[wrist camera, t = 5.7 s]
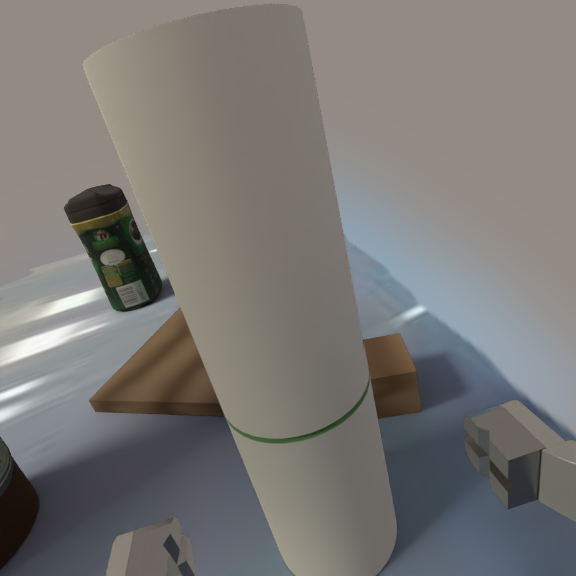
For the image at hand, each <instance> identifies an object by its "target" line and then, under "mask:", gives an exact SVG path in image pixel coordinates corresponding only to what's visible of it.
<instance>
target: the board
mask: <svg viewBox="0 0 576 576" xmlns="http://www.w3.org/2000/svg"><path fill="white" fill-rule="evenodd" d="M89 402H90V403H91V405H92V407H93V408H94V410H95V412H118V413H146V414H173V415H201V416H225V415H224V413H223V410H222V408H221V405H220V403H219V401H218V398H217V396H216V393H215V391H214V388H213V386H212V383H211V381H210V378H209V376H208V374H207V371H206V369H205V366H204V364H203V361H202V359H201V356H200V354H199V351H198V349H197V347H196V344H195V342H194V339H193V337H192V334H191V332H190V329H189V327H188V325H187V322H186V320H185V317H184V315H183V312H182V310H181V307H180V308H179V309H178V310H177V311H176V312H175V313H174V314H173V315H172V316H171V317H170V318H169V319H168V320H167V321H166V322H165V323H164V324H163V325H162V326H161V327H160V328H159V330H158V331H157V332H156V333H155V334H154V335H153V336H152V337H151V338H150V339H149V340H148V341H147V342H146V343H145V344H144V345H143V346H142V347H141V348H140V349H139V350H138V351H137V352H136V353H135V354H134V355H133V356H132V357H131V358H130V359H129V360H128V361H127V362H126V363H125V364H124V365H123V366H122V367H121V368H120V369H119V370H118V371H117V372H116V373H115V374H114V375H113V376H112V377H111V378H110V379H109V380H108V381H107V382H106V383H105V384H104V385H103V386H102V387H101V388H100V389H99V390H98V391H97V392H96V394H95V395H94V396H93V397H92V398H91V399H90V400H89Z"/></svg>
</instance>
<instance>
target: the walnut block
mask: <svg viewBox="0 0 576 576" xmlns="http://www.w3.org/2000/svg"><path fill="white" fill-rule="evenodd" d="M363 342H364V347H365V352H366V358H367V363H368V369H369V374H370V379H371V385H372V390H373V396H374V401H375V407H376V412H377V418H378V419H379V418H385V417H391V416H398V415H404V414H410V413H416V412H422V411H421V402H420V394H419V386H418V377H417V371H416V368H415V366H414V364H413V361H412V359H411V357H410V355H409V352H408V350H407V348H406V346H405V343H404V341H403V339H402V337H401V334H400V333H398V334H393V335H387V336H382V337H377V338H371V339H366V340H363Z"/></svg>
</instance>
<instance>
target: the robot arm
mask: <svg viewBox="0 0 576 576" xmlns="http://www.w3.org/2000/svg"><path fill="white" fill-rule="evenodd" d="M463 427H464V429H465V430H466V431H467V432H468V433H467V435H466V437H465V438H464V444H465V450H466V452H467V455H468V457H469V459H470V461H471V463H472V464H473V466H474V467H475V468H476V470H477V471H478V472H479V473H480V474H482V475H484V476H486V477H488V478H490V488H491V489H492V490H493V491H494V493H495V494H496V495H497V496H498V498H499V499H500V500H501V502H502V503H503V504H504V505H505V507H506V508H507V509H511V508H514V507H517V506H520V505H523V504H526V503H529V502H532V501H535V500H538V499H539V502H541V503H543V504H544V505H546V506H548V507H550V508H551V509H553V510H555V511H557V512H558V513H560V514H562V515H564V516H565V517H567V518H569V519H571V520H572V521H574V522H576V441H573V440H568V441H565V440H564V439H562V438H561V437H560V436H559V435H558V434H557V433H556V432H554V431H553V430H552V429H551V428H550V427H549V426H547V425H546V424H545V423H544V422H543V421H542V420H541V419H539V418H538V417H537V416H536V415H535V414H534V413H532V412H531V411H530V410H529V409H528V408H527V407H525V406H524V405H523V404H522V403H521V402H520V401H517V400H512V401H509V402H506V403H503V404H500V405H498V406H494V407H491V408H488V409H485V410H482V411H480V412H477V413H474V414H471V415H469V416H466V417H465V418H464V420H463ZM106 576H195V560H194V553H193V548H192V545H191V542H190V540H189V538H188V536H187V535H184V534H182V533H181V524H180V522H179V520H178V519H177V517H175V518H172V519H168V520H165V521H162V522H159V523H156V524H153V525H149V526H146V527H143V528H140V529H137V530H134V531H131V532H128V533H125V534H122V535H119V536H117V537H116V539H115V541H114V542H113V545H112V549H111V554H110V558H109V562H108V567H107V571H106Z"/></svg>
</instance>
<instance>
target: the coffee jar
mask: <svg viewBox="0 0 576 576" xmlns="http://www.w3.org/2000/svg"><path fill="white" fill-rule="evenodd" d="M64 210H65V212H66V214H67V216H68V219H69V221H70V223H71V225H72V227H73V229H74V230H75V231H76V233H77V235H78V236H79V238H80V240H81V241H82V243H83V245H84V247H85V249H86V251H87V253H88V255H89V257H90V259H91V262H92V264H93V266H94V268H95V270H96V272H97V274H98V277H99V279H100V281H101V283H102V286H103V288H104V290H105V292H106V295H107V297H108V299H109V301H110V303H111V305H112V307H113V309H115V310H117V311H121V310H133V309H136V308H139V307H141V306H142V305H144V304H146V303H148V302H151V301H153V300H155V299H156V297H157V296H158V294H159V292H160V290H161V286H162V281H161V279H160V276H159V274H158V272H157V270H156V267H155V265H154V263H153V261H152V259H151V257H150V254H149V252H148V250H147V248H146V245H145V243H144V241H143V239H142V236H141V234H140V232H139V230H138V227H137V225H136V223H135V220H134V217H133V215H132V212H131V209H130V207H129V204H128V203H127V200H126V198H125V196H124V194H123V191H122V190H121V189H120V188H118V187H115V186H112V185H110V184H108V185H102V186H96V187H93V188H89V189H87V190H85V191H83V192H82V193H80V194H78V195H76V196H75V197H73V198H71V199H70V200H69V201H68V203H67V204H66V205H65V207H64Z"/></svg>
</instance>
